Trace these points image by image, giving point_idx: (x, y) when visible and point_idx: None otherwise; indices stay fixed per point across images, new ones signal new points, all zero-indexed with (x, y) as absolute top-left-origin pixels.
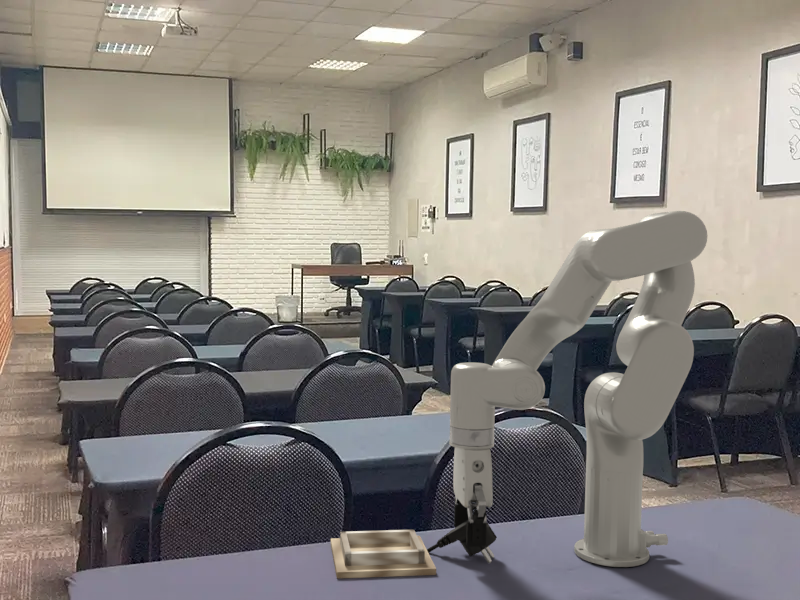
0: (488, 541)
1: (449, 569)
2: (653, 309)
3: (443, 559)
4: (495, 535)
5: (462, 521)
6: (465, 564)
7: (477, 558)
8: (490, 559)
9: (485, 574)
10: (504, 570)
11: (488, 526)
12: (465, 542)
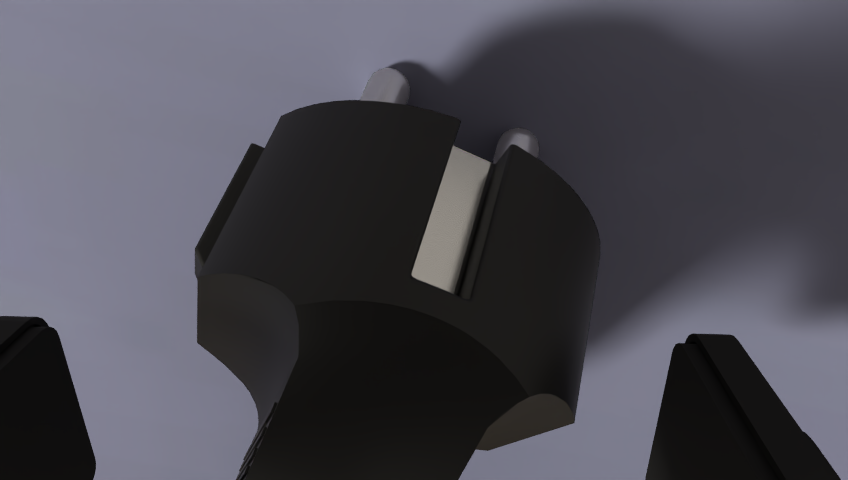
0: (587, 262)
1: (596, 448)
2: None
3: None
4: (445, 143)
5: (42, 464)
6: None
7: None
8: (534, 150)
9: (769, 244)
10: (736, 57)
11: (454, 312)
12: (487, 445)
